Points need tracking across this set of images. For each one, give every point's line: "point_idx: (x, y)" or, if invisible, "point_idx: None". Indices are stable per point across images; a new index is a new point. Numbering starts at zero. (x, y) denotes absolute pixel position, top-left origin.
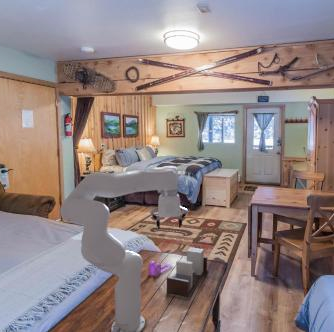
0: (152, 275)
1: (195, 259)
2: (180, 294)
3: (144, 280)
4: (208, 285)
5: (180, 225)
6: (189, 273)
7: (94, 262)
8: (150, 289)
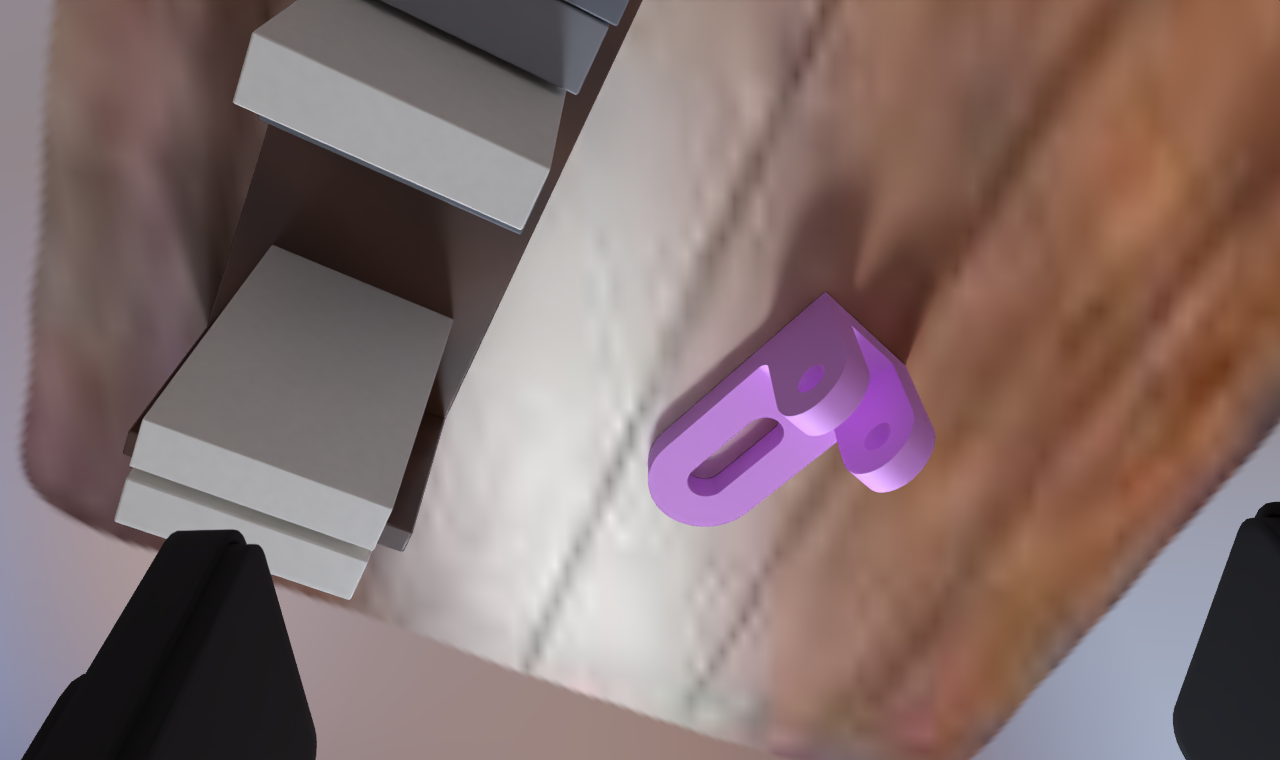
0: (866, 335)
1: (279, 381)
2: None
3: (958, 263)
4: (150, 39)
5: (122, 616)
6: (337, 3)
7: None
8: (897, 60)
